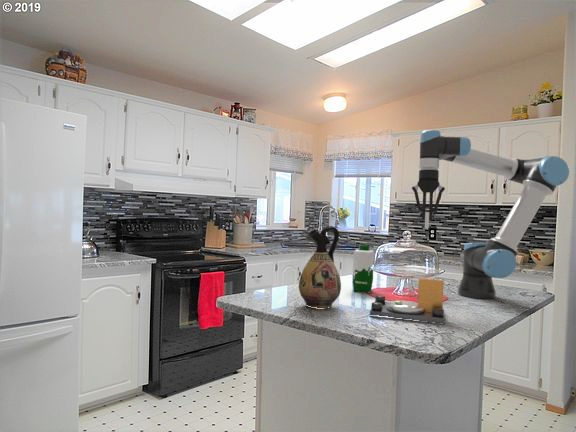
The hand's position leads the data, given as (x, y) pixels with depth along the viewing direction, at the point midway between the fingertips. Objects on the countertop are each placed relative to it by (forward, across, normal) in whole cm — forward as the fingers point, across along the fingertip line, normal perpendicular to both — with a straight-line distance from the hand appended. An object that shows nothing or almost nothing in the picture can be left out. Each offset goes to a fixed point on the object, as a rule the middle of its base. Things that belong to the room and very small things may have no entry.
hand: (426, 228), depth 177 cm
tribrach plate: (+29, +6, +26) cm, 40 cm away
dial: (+27, +3, +28) cm, 39 cm away
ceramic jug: (+30, +36, +28) cm, 54 cm away
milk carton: (+30, +26, -9) cm, 40 cm away
